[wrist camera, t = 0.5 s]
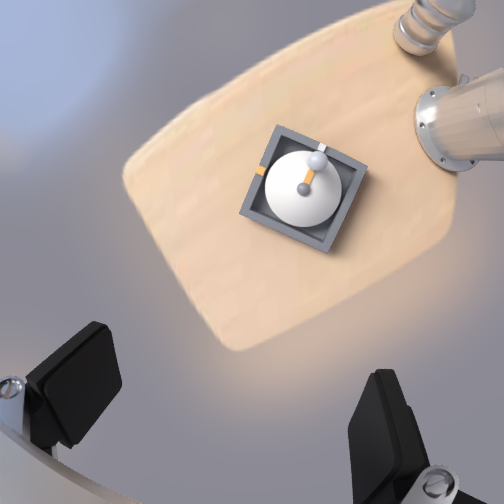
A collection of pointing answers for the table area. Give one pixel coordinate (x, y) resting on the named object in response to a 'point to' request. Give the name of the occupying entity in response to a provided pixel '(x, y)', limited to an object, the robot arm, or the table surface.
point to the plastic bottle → (430, 23)
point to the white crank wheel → (303, 188)
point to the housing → (261, 212)
